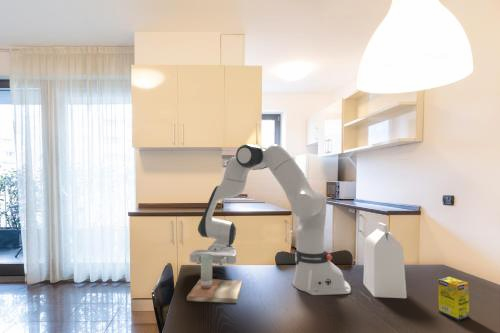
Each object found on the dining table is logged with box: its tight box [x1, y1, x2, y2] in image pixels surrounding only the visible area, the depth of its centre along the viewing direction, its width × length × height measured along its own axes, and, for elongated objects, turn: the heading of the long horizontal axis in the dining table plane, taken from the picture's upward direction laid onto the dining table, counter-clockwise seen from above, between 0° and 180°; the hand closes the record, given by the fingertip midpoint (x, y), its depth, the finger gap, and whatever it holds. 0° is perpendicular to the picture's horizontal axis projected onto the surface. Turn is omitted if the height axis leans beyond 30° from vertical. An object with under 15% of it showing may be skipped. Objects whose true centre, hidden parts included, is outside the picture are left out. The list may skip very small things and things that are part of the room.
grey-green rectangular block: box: [200, 254, 213, 289], centre depth 101 cm, size 4×4×12 cm
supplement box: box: [437, 276, 470, 322], centre depth 84 cm, size 6×6×11 cm
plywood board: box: [186, 278, 243, 304], centre depth 101 cm, size 18×16×2 cm
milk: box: [363, 222, 407, 299], centre depth 103 cm, size 12×12×26 cm
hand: (209, 262), depth 106 cm, fingers open, 8 cm apart
